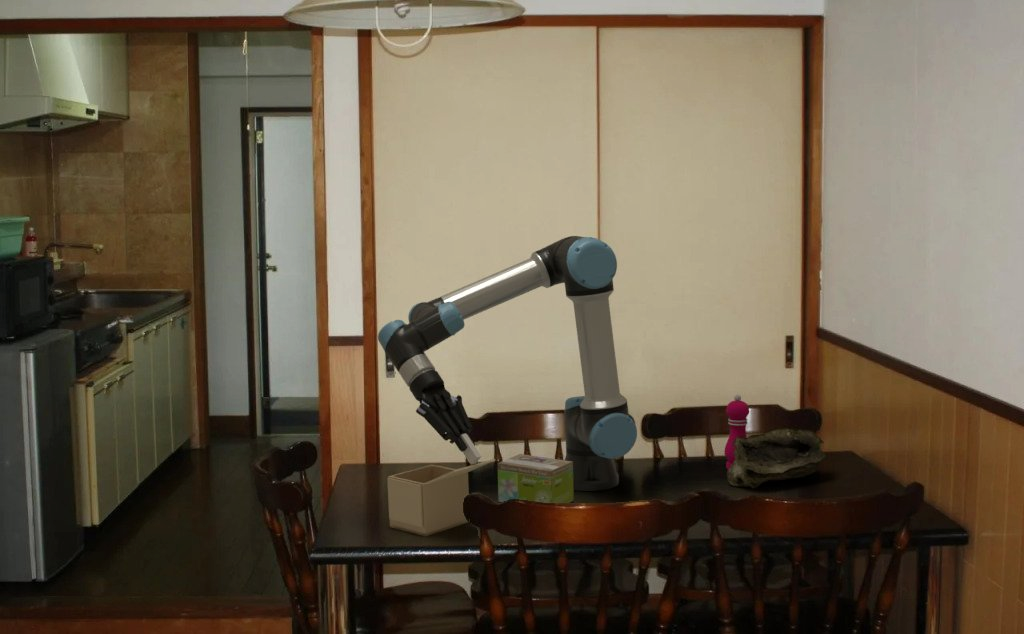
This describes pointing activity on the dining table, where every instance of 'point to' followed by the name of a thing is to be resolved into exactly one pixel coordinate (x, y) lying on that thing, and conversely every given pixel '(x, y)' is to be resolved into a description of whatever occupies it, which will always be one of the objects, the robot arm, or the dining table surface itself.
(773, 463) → the hollow geode rock
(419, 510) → the carton
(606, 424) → the robot arm
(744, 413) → the pepper mill
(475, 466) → the flap
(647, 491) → the dining table surface
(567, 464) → the tea box
